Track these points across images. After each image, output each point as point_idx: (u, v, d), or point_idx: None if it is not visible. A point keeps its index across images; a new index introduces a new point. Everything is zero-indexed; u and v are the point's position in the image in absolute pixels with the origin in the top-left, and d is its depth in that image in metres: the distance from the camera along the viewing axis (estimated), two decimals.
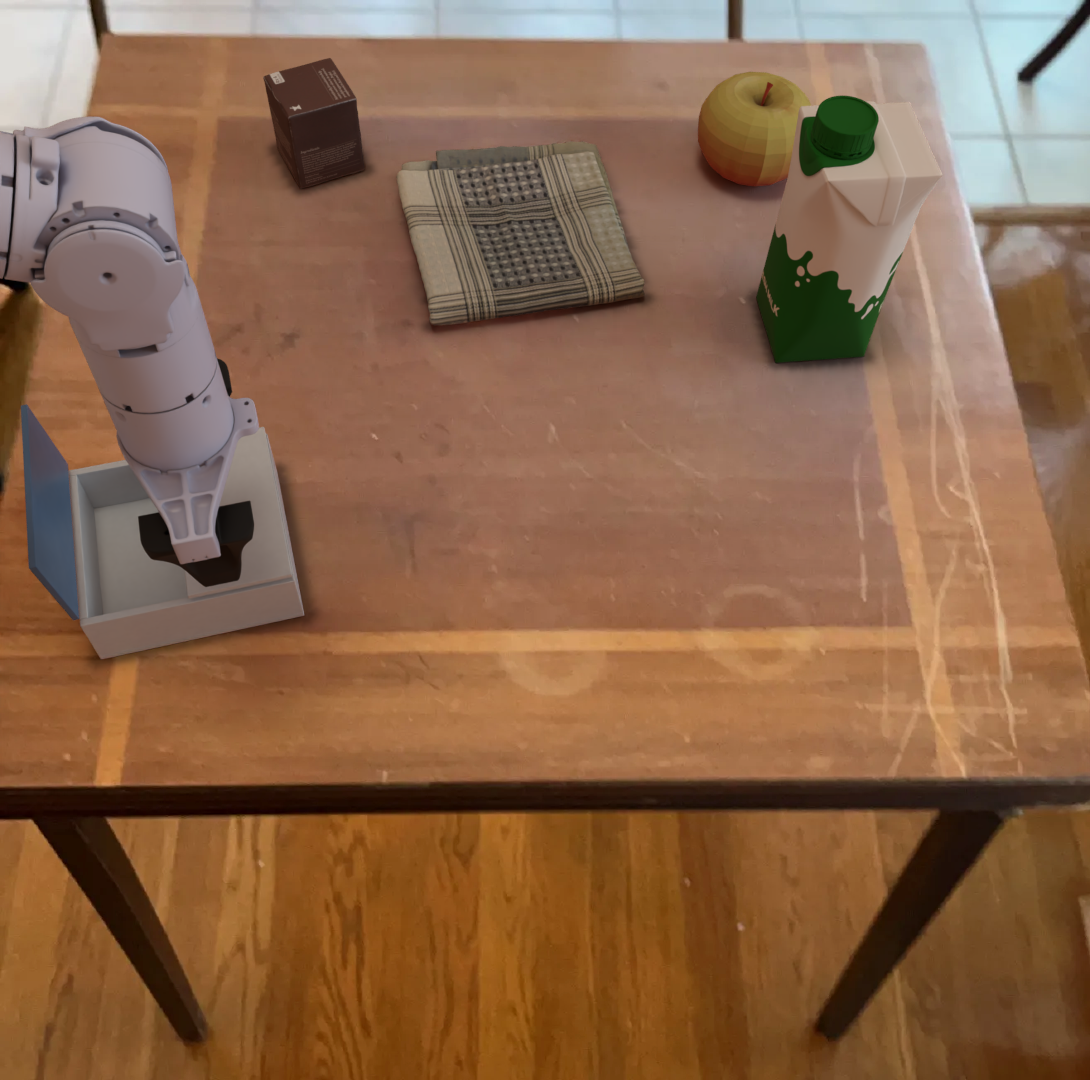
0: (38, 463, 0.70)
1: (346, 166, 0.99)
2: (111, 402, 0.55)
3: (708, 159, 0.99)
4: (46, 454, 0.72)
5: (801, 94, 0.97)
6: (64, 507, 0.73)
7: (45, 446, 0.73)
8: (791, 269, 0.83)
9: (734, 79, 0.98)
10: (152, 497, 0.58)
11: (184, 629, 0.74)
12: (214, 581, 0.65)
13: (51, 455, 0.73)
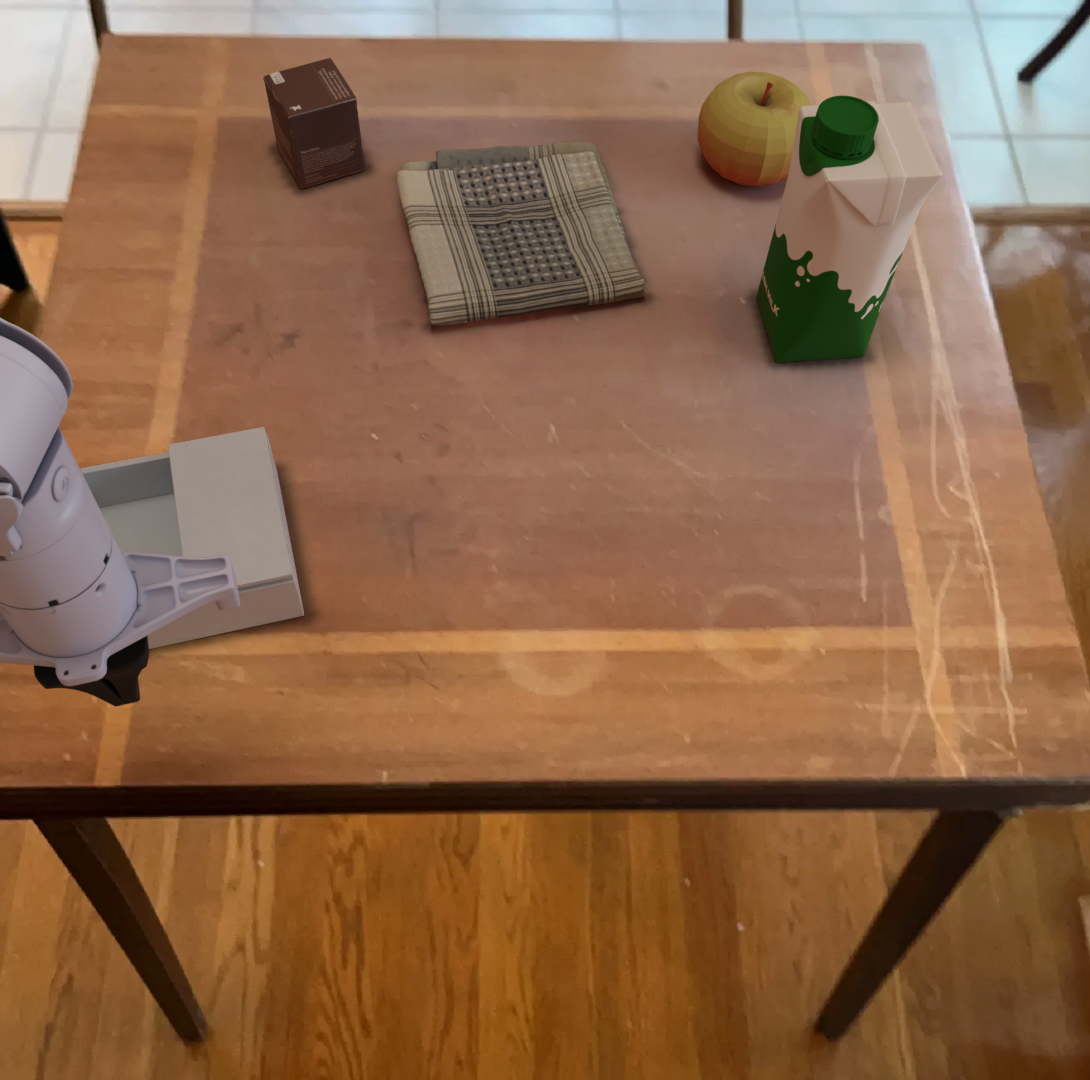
0: None
1: (346, 166, 0.99)
2: None
3: (708, 159, 0.99)
4: None
5: (801, 94, 0.97)
6: None
7: None
8: (791, 269, 0.83)
9: (734, 79, 0.98)
10: None
11: (184, 629, 0.74)
12: None
13: None
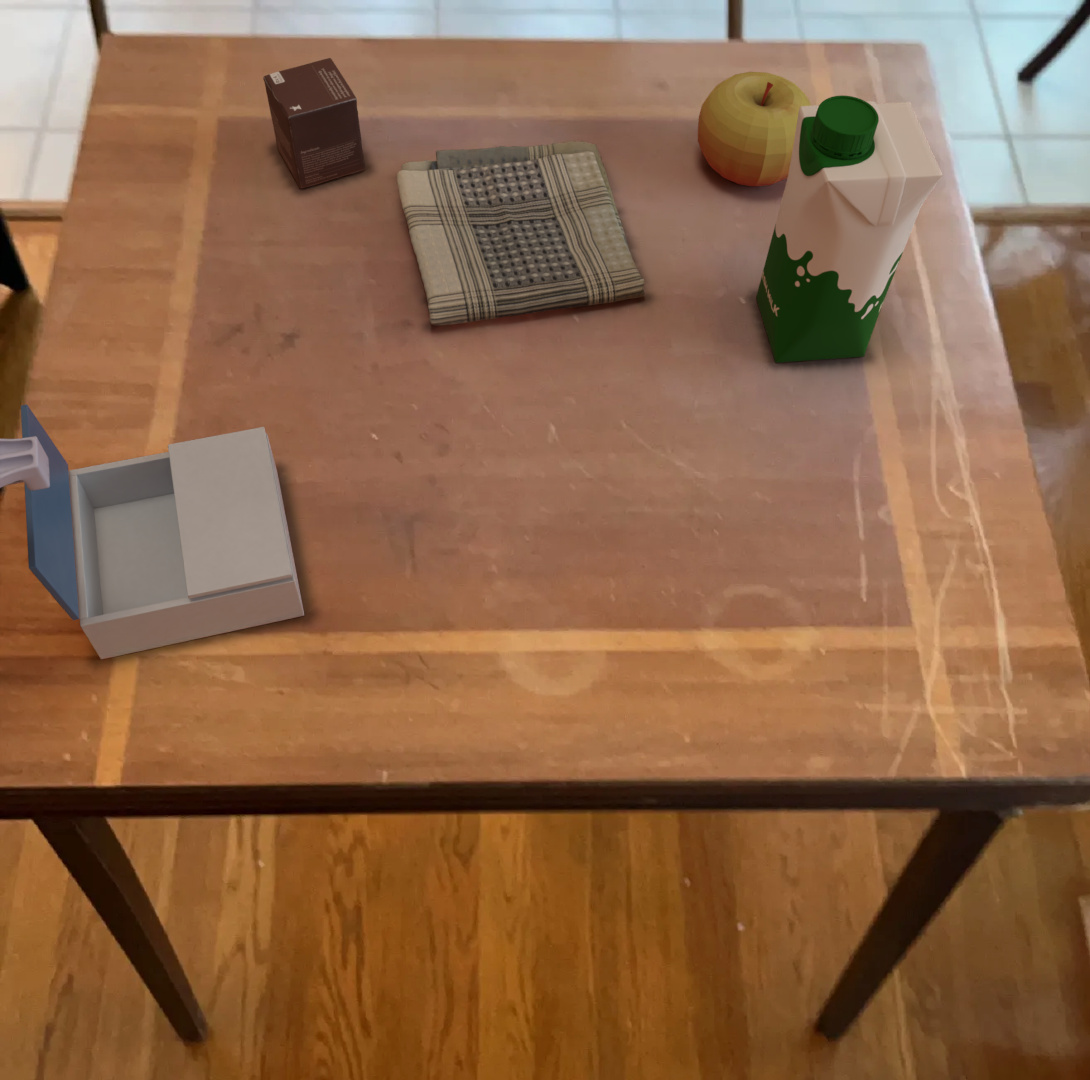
0: None
1: (346, 166, 0.99)
2: None
3: (708, 159, 0.99)
4: (46, 454, 0.72)
5: (801, 94, 0.97)
6: (64, 507, 0.73)
7: (45, 446, 0.73)
8: (791, 269, 0.83)
9: (734, 79, 0.98)
10: None
11: (184, 629, 0.74)
12: None
13: (51, 455, 0.73)
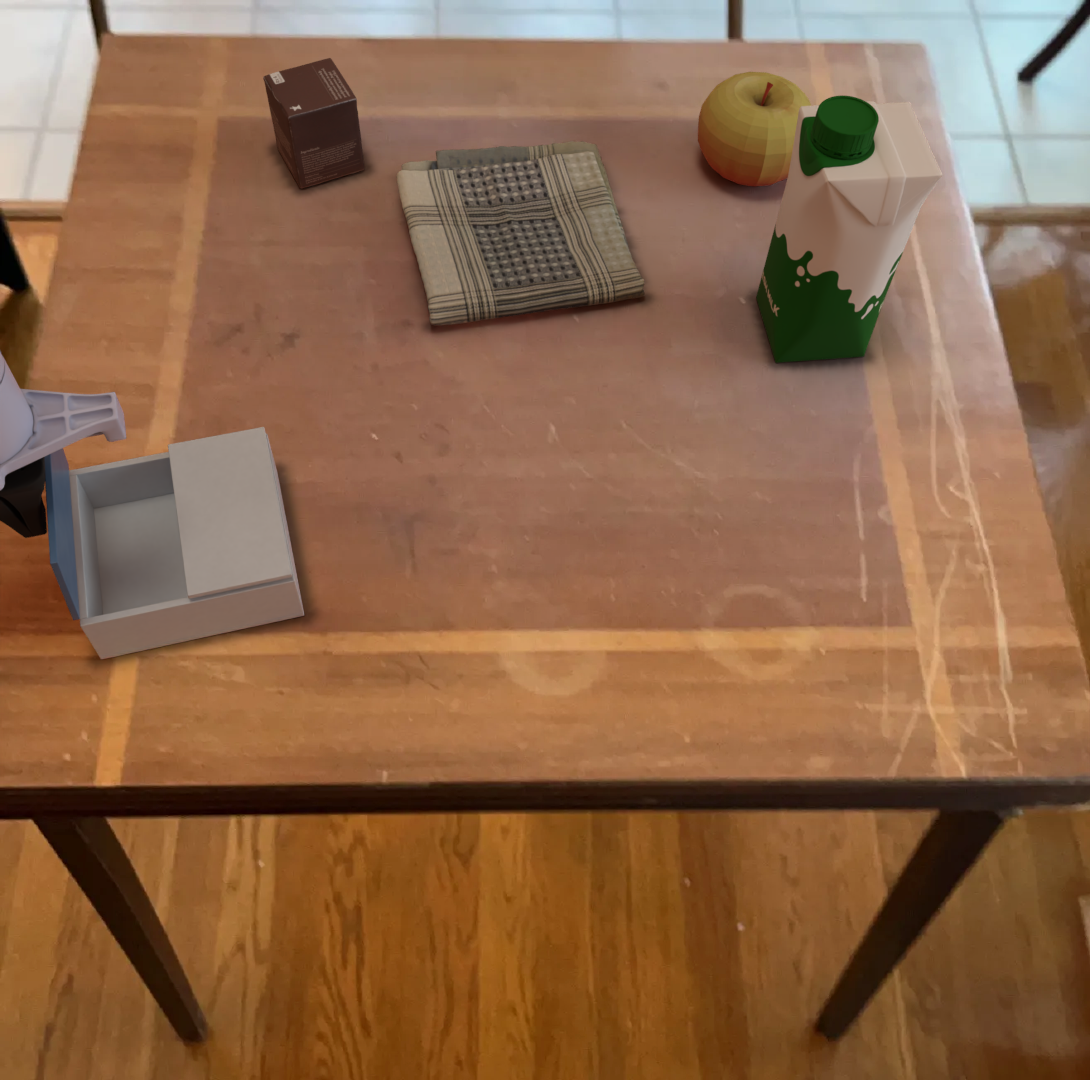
0: (54, 460, 0.70)
1: (346, 166, 0.99)
2: None
3: (708, 159, 0.99)
4: (58, 452, 0.73)
5: (801, 94, 0.97)
6: (68, 507, 0.73)
7: None
8: (791, 269, 0.83)
9: (734, 79, 0.98)
10: None
11: (184, 629, 0.74)
12: None
13: (60, 454, 0.73)
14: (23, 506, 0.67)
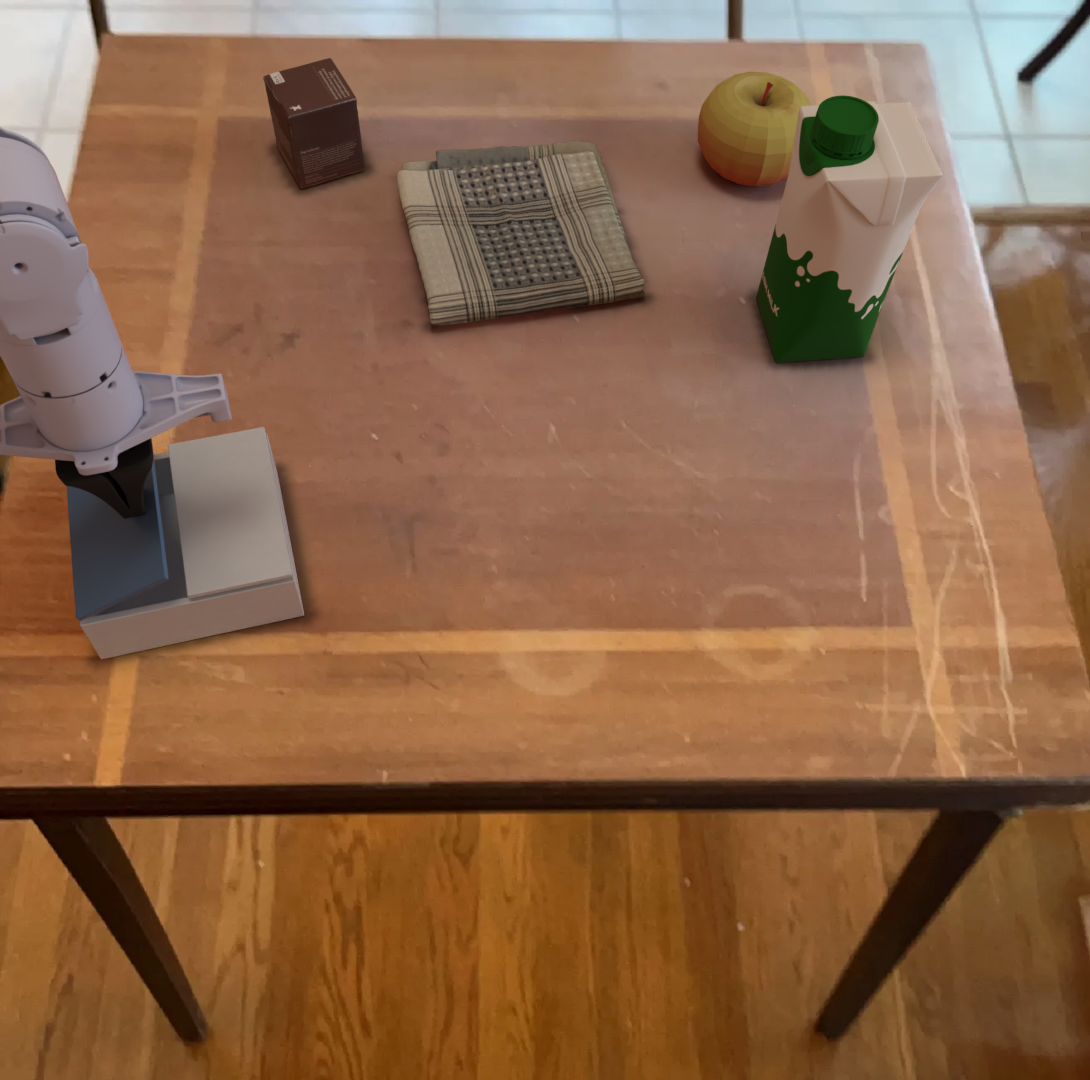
0: None
1: (346, 166, 0.99)
2: None
3: (708, 159, 0.99)
4: None
5: (801, 94, 0.97)
6: None
7: None
8: (791, 269, 0.83)
9: (734, 79, 0.98)
10: (8, 401, 0.65)
11: (184, 629, 0.74)
12: None
13: None
14: (128, 486, 0.68)
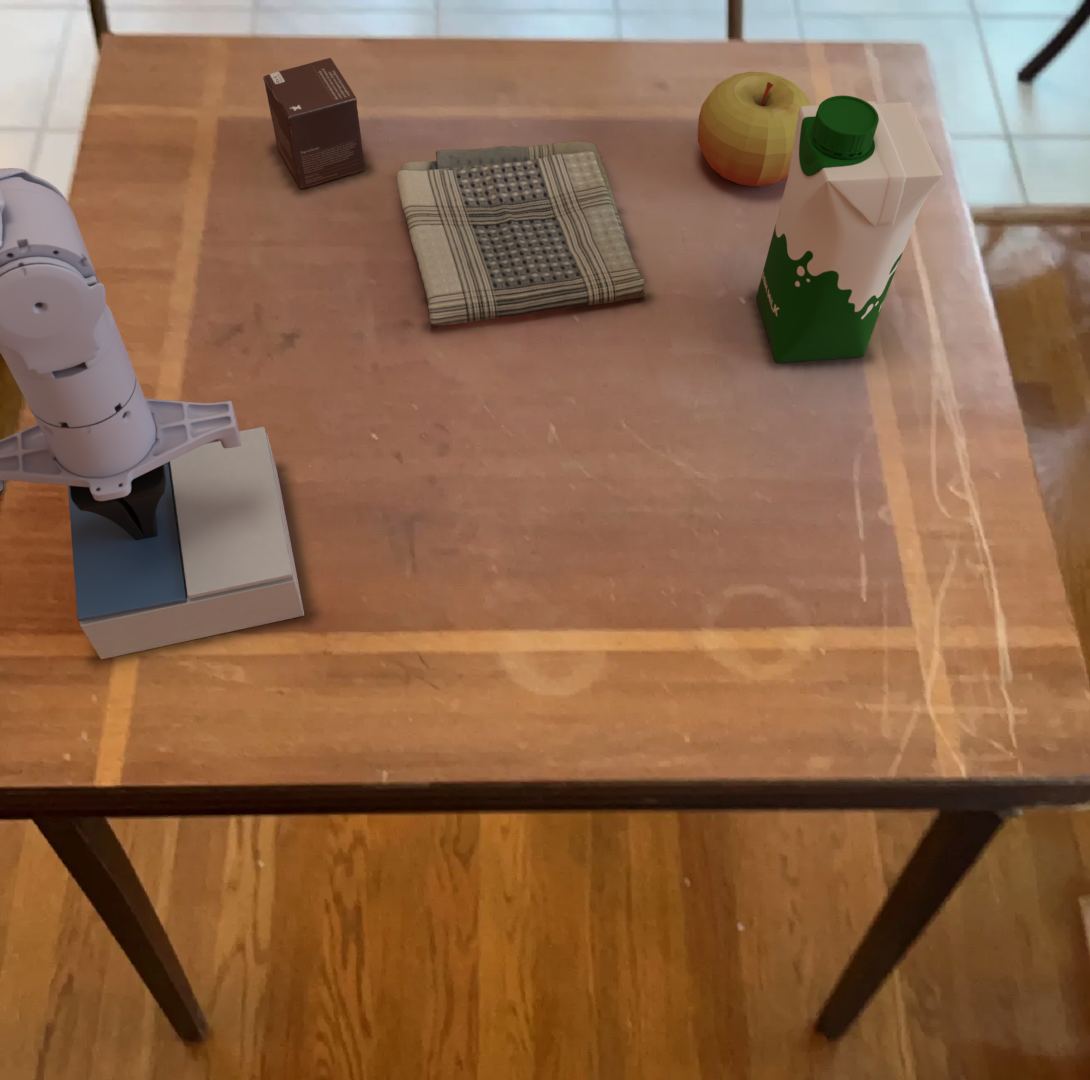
0: None
1: (346, 166, 0.99)
2: None
3: (708, 159, 0.99)
4: None
5: (801, 94, 0.97)
6: None
7: None
8: (791, 269, 0.83)
9: (734, 79, 0.98)
10: (25, 429, 0.67)
11: (184, 629, 0.74)
12: None
13: None
14: (141, 509, 0.70)
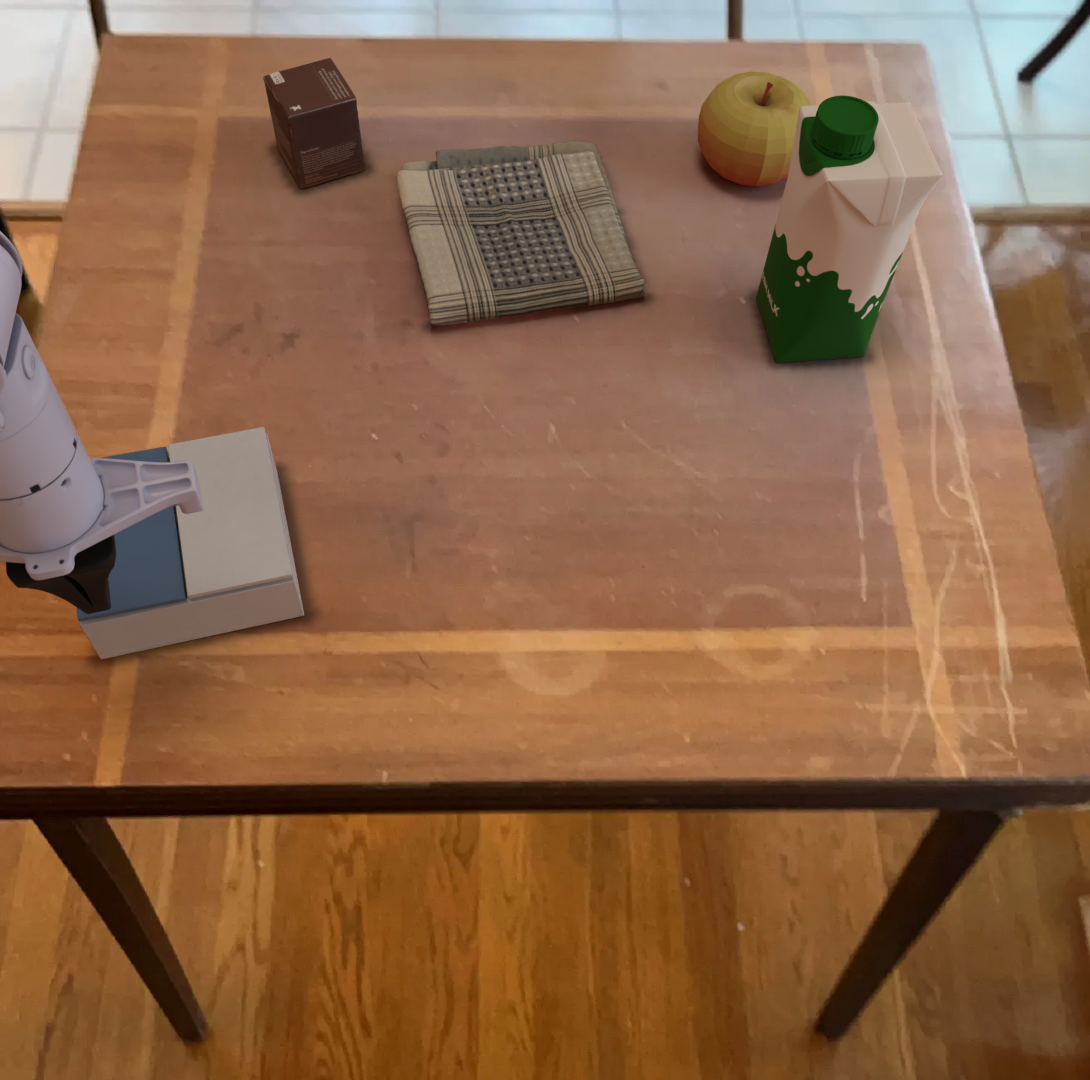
0: None
1: (346, 166, 0.99)
2: None
3: (708, 159, 0.99)
4: None
5: (801, 94, 0.97)
6: None
7: None
8: (791, 269, 0.83)
9: (734, 79, 0.98)
10: None
11: (184, 629, 0.74)
12: None
13: None
14: (89, 583, 0.61)
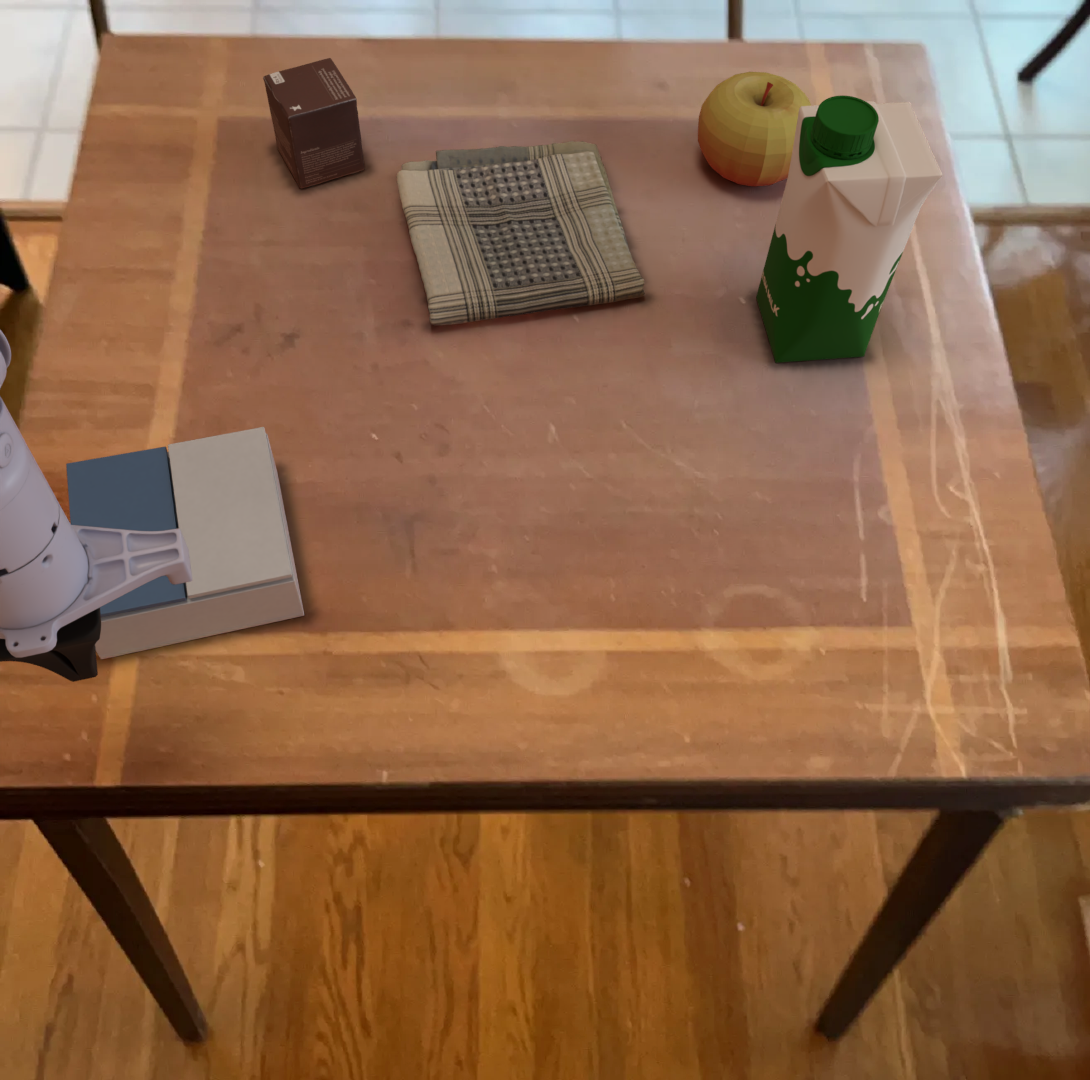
0: None
1: (346, 166, 0.99)
2: None
3: (708, 159, 0.99)
4: None
5: (801, 94, 0.97)
6: None
7: None
8: (791, 269, 0.83)
9: (734, 79, 0.98)
10: None
11: (184, 629, 0.74)
12: None
13: None
14: (74, 654, 0.59)
